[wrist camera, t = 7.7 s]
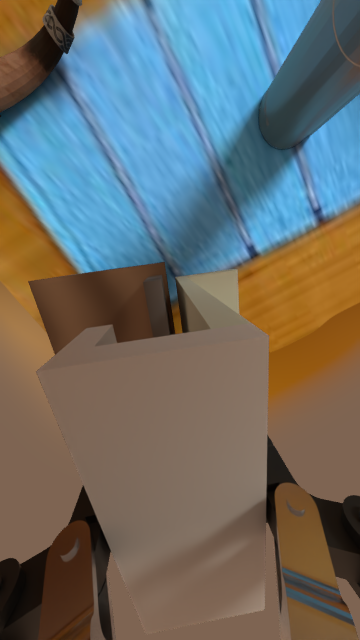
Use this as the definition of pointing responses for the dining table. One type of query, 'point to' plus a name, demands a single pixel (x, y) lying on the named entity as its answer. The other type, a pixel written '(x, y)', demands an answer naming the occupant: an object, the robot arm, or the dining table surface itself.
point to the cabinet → (106, 303)
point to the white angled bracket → (175, 453)
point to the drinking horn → (38, 54)
